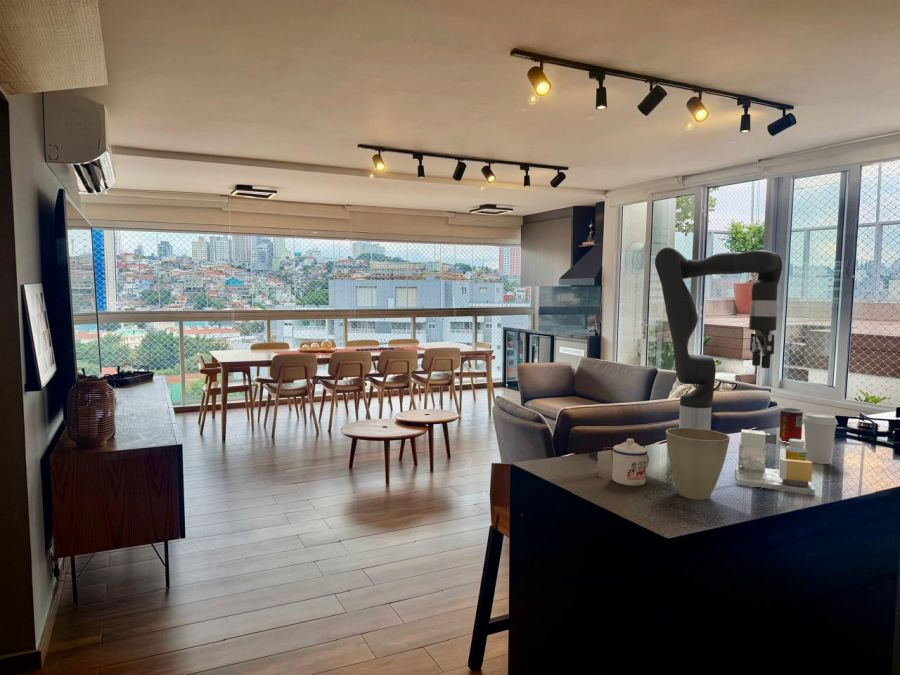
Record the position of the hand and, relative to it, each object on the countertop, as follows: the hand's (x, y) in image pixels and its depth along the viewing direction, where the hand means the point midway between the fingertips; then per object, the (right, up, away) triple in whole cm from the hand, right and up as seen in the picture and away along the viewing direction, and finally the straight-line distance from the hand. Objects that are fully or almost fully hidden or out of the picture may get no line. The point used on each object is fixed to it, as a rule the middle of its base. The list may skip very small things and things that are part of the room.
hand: (760, 366), depth 184 cm
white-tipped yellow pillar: (-5, -30, -27) cm, 41 cm away
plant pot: (-35, -31, -35) cm, 59 cm away
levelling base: (-8, -31, -21) cm, 38 cm away
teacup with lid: (-47, -30, -23) cm, 61 cm away
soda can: (+28, -30, +32) cm, 52 cm away
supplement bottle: (+5, -31, -10) cm, 33 cm away
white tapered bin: (+20, -31, +3) cm, 37 cm away
